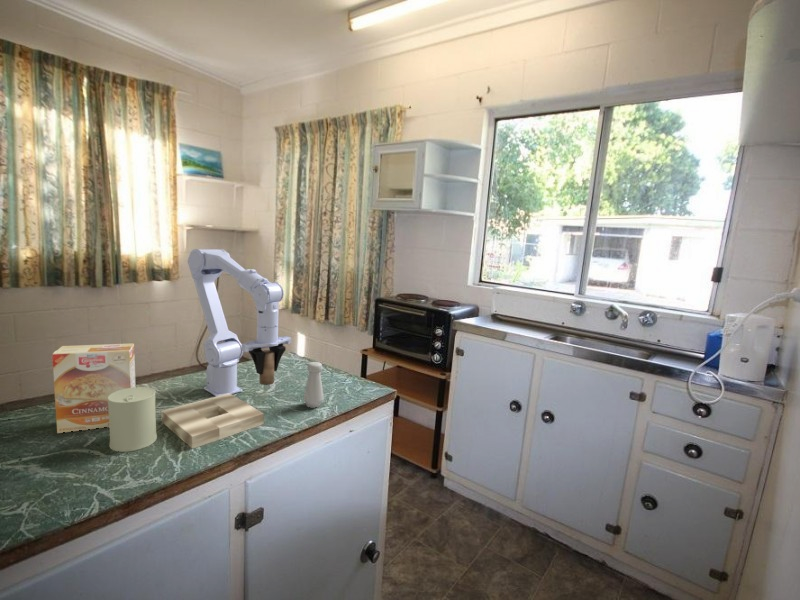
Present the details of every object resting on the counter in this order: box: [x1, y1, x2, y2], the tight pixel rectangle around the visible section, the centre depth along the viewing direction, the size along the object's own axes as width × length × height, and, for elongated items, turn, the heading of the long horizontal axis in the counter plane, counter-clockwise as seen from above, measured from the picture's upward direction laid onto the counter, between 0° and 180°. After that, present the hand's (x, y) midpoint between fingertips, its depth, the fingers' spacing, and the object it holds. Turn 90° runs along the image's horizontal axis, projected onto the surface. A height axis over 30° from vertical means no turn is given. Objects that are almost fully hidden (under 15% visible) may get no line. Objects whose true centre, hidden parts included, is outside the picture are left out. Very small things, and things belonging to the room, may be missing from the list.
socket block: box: [160, 393, 265, 450], centre depth 104 cm, size 18×18×3 cm
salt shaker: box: [303, 361, 324, 409], centre depth 118 cm, size 6×6×13 cm
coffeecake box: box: [52, 342, 136, 434], centre depth 99 cm, size 15×7×20 cm, turn 115°
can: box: [107, 386, 158, 453], centre depth 92 cm, size 9×9×12 cm
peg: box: [258, 349, 275, 386], centre depth 115 cm, size 4×4×9 cm
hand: (266, 371), depth 115 cm, fingers closed on peg, 4 cm apart
